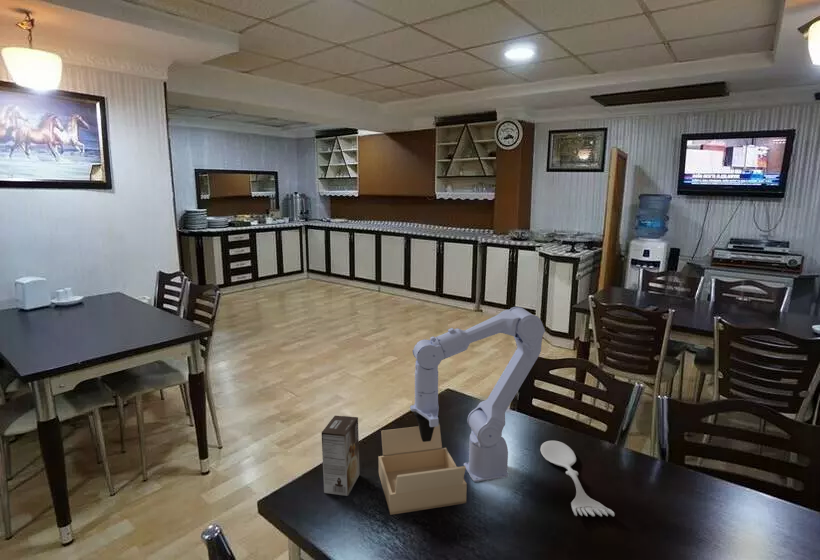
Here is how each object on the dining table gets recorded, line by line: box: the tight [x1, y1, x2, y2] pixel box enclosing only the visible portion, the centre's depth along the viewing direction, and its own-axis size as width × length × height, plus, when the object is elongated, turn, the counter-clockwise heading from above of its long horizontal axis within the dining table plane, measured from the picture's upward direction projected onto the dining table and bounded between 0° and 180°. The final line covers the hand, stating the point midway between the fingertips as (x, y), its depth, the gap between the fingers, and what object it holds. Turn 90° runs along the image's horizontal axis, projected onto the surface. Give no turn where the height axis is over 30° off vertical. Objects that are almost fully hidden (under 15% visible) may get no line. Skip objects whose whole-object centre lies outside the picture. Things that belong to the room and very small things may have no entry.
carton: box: [377, 447, 468, 516], centre depth 114 cm, size 18×16×5 cm
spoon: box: [539, 440, 616, 518], centre depth 117 cm, size 9×32×4 cm, turn 0°
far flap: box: [380, 423, 443, 456], centre depth 122 cm, size 16×6×1 cm
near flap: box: [395, 465, 466, 494], centre depth 105 cm, size 16×6×1 cm
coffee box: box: [321, 415, 361, 497], centre depth 115 cm, size 9×6×16 cm
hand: (426, 440), depth 117 cm, fingers closed
